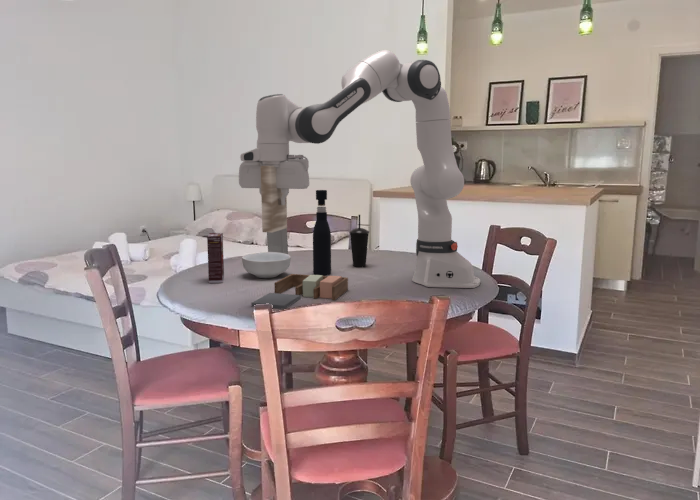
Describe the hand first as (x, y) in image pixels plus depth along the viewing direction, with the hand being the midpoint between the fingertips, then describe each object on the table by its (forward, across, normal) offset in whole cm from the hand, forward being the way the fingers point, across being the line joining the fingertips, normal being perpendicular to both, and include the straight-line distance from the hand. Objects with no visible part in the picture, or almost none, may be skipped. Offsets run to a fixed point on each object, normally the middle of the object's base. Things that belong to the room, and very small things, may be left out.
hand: (274, 204), depth 152 cm
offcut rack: (+28, -6, -13) cm, 32 cm away
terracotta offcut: (+28, -12, -13) cm, 33 cm away
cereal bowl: (+28, +19, -32) cm, 47 cm away
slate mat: (+28, 0, 0) cm, 28 cm away
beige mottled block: (+7, 0, 0) cm, 7 cm away
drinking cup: (+28, -8, -57) cm, 64 cm away
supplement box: (+28, +32, -20) cm, 47 cm away
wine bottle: (+28, +1, -40) cm, 49 cm away
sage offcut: (+28, -6, -13) cm, 32 cm away
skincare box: (+28, +26, -59) cm, 71 cm away
